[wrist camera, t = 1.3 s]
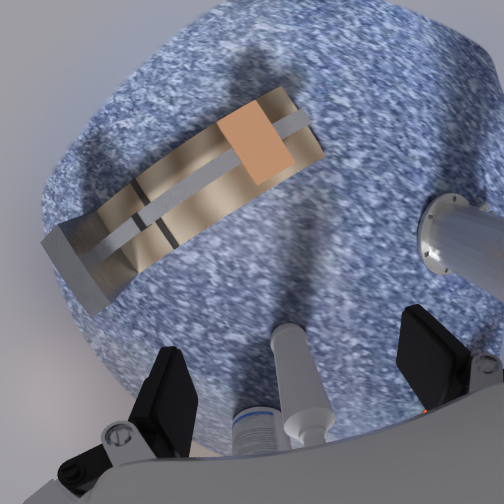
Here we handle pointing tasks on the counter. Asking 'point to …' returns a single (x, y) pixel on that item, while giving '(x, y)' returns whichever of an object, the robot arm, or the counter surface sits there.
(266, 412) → the supplement tub
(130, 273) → the slider rail assembly
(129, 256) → the base board
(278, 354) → the bottle
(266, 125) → the tan notched block
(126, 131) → the counter surface
